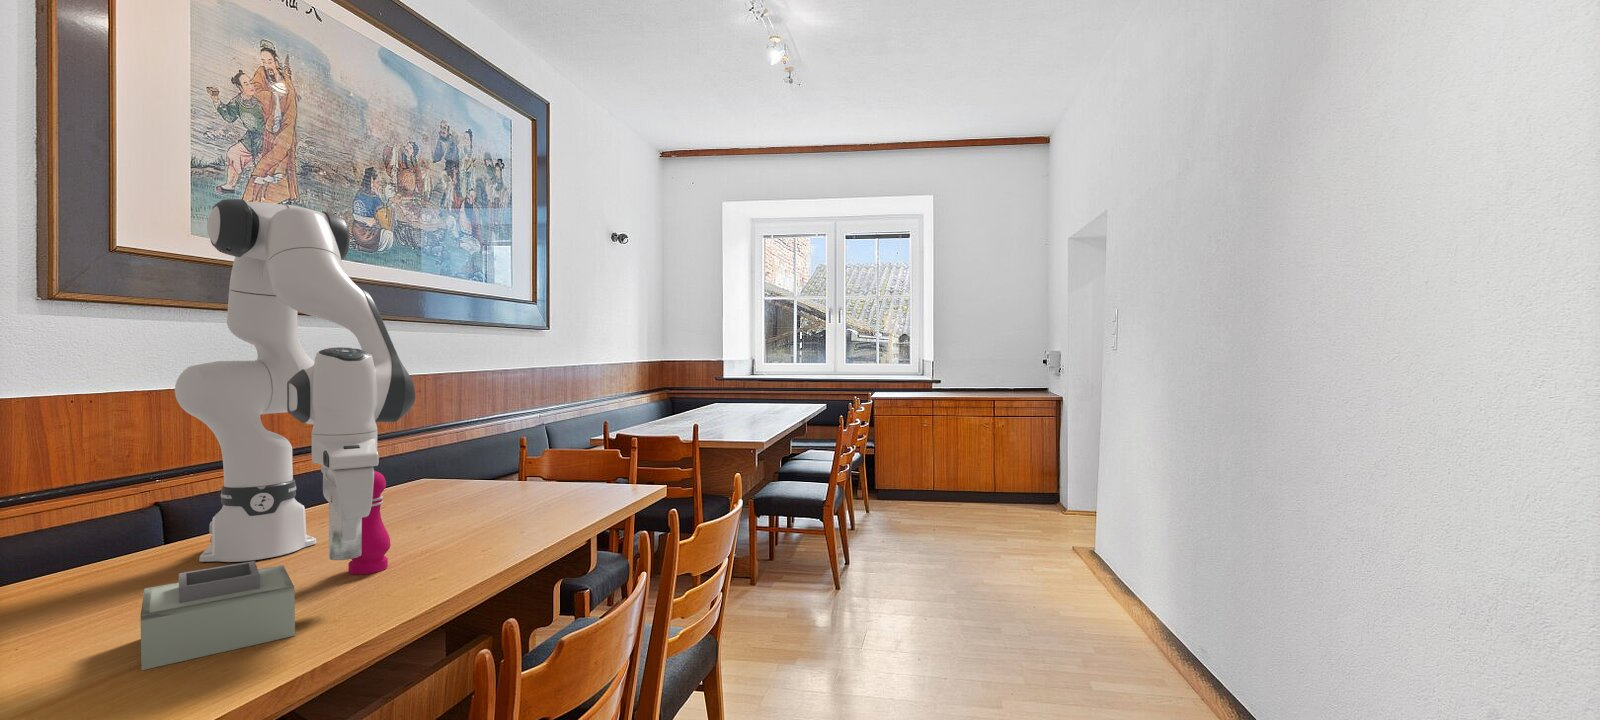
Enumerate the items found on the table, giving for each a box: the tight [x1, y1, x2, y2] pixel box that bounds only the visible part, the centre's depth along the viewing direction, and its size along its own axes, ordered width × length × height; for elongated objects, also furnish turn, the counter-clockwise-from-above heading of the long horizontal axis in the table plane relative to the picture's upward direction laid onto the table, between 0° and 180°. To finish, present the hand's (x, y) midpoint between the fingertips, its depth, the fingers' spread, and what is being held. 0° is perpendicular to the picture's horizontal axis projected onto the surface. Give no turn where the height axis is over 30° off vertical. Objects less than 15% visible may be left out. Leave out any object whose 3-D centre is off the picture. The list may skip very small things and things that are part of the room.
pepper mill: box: [347, 470, 391, 576], centre depth 130 cm, size 7×7×20 cm
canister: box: [328, 495, 362, 561], centre depth 112 cm, size 4×4×12 cm
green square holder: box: [139, 560, 296, 671], centre depth 100 cm, size 14×16×9 cm
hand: (345, 535), depth 112 cm, fingers closed on canister, 4 cm apart
